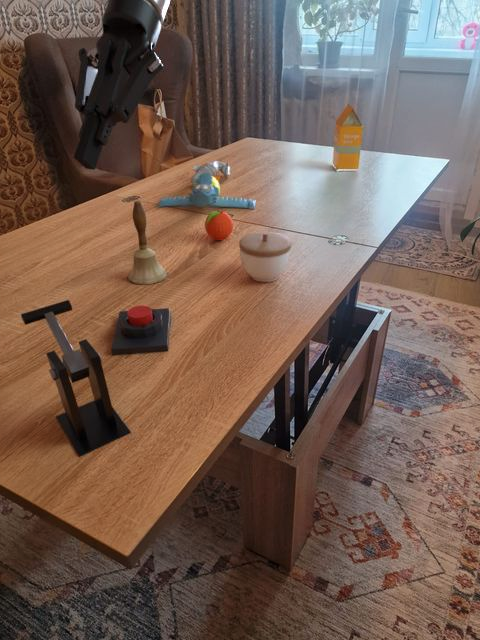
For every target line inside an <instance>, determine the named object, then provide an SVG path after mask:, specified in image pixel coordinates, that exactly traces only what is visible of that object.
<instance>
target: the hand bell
mask: <svg viewBox="0 0 480 640" xmlns="http://www.w3.org/2000/svg"><path fill="white" fill-rule="evenodd" d="M132 220H133V225H134V227H135V229H136V233H137V239H138V249H137V250H135V251H134V252H133V265H132V268H131V270H130V271H129V273H128V275H127V279H128V281H129V282H130V283H132V284H136V285H152V284H158V283H159V282H162V281H164V280H165V279H166V278H167V276H168V271H167V270H166V269H165V267H162V266H161V264H160V263H159V260H158V258H157V254H156V251H155V250H154V249H151V248H149V246H148V241H147V240H148V239H147V233H146V231H147V215H146V211H145V208H144V206H143V204H142V202H141V200H136V201H133V208H132Z"/></svg>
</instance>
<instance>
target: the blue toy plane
mask: <svg viewBox="0 0 480 640" xmlns="http://www.w3.org/2000/svg"><path fill="white" fill-rule="evenodd" d="M220 179H221V176H220V175H216V174H215V175H214V177H212V176H211V174H209V175H208V173H206V174H205V173H203V174H200V176H199V177H198V178H197V179H194V180H195V183H194V184H193V183H192V185H191V192H190V193H189V192H188V194H187V195H186V196H185V195H181V196H179V195H178V196H172V197H171V196H169V197H163V198H161V200H160V201H159V202H158V204H157V208H163V207H200V208H204V207H206V206H207V207H219V208H220V207H221V208H239V209H249V210H255V207H256V204H257V203H256V202H257V201H256V199H251V198H246V197H243V198H242V197H237V196H235V197H232V196H229V197H228V196H221V195H220V193H221V187H220V183H219V182H220Z"/></svg>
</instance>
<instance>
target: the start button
mask: <svg viewBox="0 0 480 640" xmlns="http://www.w3.org/2000/svg"><path fill="white" fill-rule="evenodd" d="M151 309H152V308H151V307H150V306H148V305H136V306H132V307H130V308H129V309H128V310H127V311H128V312H127V315H128V320H129V323H130V324H131V325H134V326H140V325H146V324H148V323H150V322H152V321H153V316H152V310H151Z"/></svg>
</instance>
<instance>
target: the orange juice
mask: <svg viewBox="0 0 480 640" xmlns="http://www.w3.org/2000/svg"><path fill="white" fill-rule="evenodd" d="M334 127H335V128H334V139H333V153H332V164H334V166H335V167H336V169H337V170H338V169H358V170H359V167H360V157H361V150H362V140H363V130H364V126H363V124H362V123H361V121H360V118H359V117H358V115H357V113H356V111H355V109H354V107H353V106H351V105H350V104H347V105H346V106H345V108H344V109H343V110H342V112H341V114H340V115H339V116H338V117H337V119H336V120H335V126H334Z"/></svg>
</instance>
